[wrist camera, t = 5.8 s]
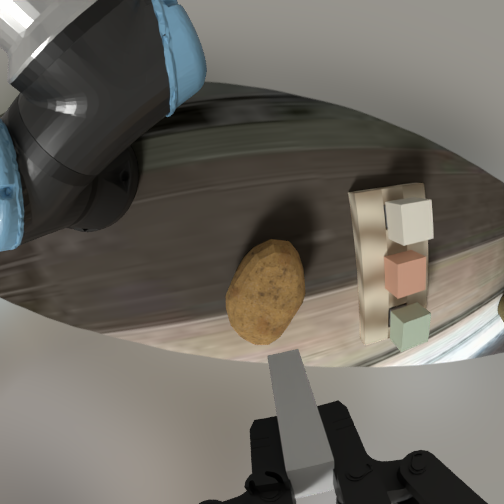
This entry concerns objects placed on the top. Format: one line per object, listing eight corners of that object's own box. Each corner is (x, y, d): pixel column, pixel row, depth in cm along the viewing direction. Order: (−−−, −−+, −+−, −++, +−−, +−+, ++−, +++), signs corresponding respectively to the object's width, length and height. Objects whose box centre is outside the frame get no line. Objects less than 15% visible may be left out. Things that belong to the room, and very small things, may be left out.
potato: (311, 241, 38) (328, 257, 31) (281, 328, 42) (289, 358, 34) (243, 222, 37) (244, 233, 30) (218, 314, 41) (214, 343, 33)
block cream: (377, 200, 35) (400, 204, 29) (406, 195, 35) (431, 199, 29) (381, 235, 36) (403, 245, 30) (409, 229, 36) (433, 238, 30)
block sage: (384, 305, 39) (403, 323, 33) (410, 297, 39) (431, 313, 33) (383, 331, 40) (401, 351, 34) (408, 323, 40) (427, 341, 34)
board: (348, 192, 37) (354, 193, 34) (415, 182, 37) (423, 183, 34) (359, 338, 43) (365, 345, 40) (417, 319, 43) (424, 325, 40)
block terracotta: (377, 252, 39) (397, 264, 33) (403, 246, 39) (426, 256, 33) (378, 283, 40) (397, 298, 34) (404, 275, 40) (425, 289, 34)
